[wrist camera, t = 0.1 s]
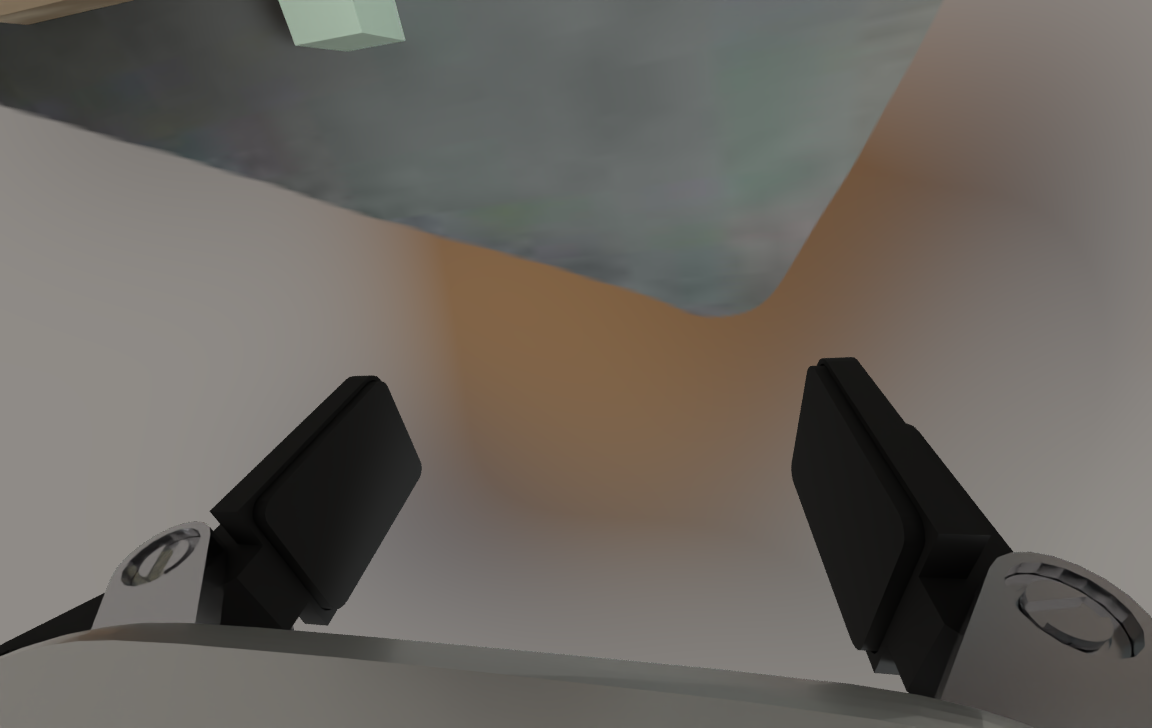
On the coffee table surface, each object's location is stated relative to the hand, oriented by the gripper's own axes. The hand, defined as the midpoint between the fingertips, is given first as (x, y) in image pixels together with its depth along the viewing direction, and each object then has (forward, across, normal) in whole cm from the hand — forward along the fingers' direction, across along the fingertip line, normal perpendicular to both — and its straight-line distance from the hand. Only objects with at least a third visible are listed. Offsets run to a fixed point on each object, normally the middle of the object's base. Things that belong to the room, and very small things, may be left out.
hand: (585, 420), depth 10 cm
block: (+31, +19, -14) cm, 39 cm away
